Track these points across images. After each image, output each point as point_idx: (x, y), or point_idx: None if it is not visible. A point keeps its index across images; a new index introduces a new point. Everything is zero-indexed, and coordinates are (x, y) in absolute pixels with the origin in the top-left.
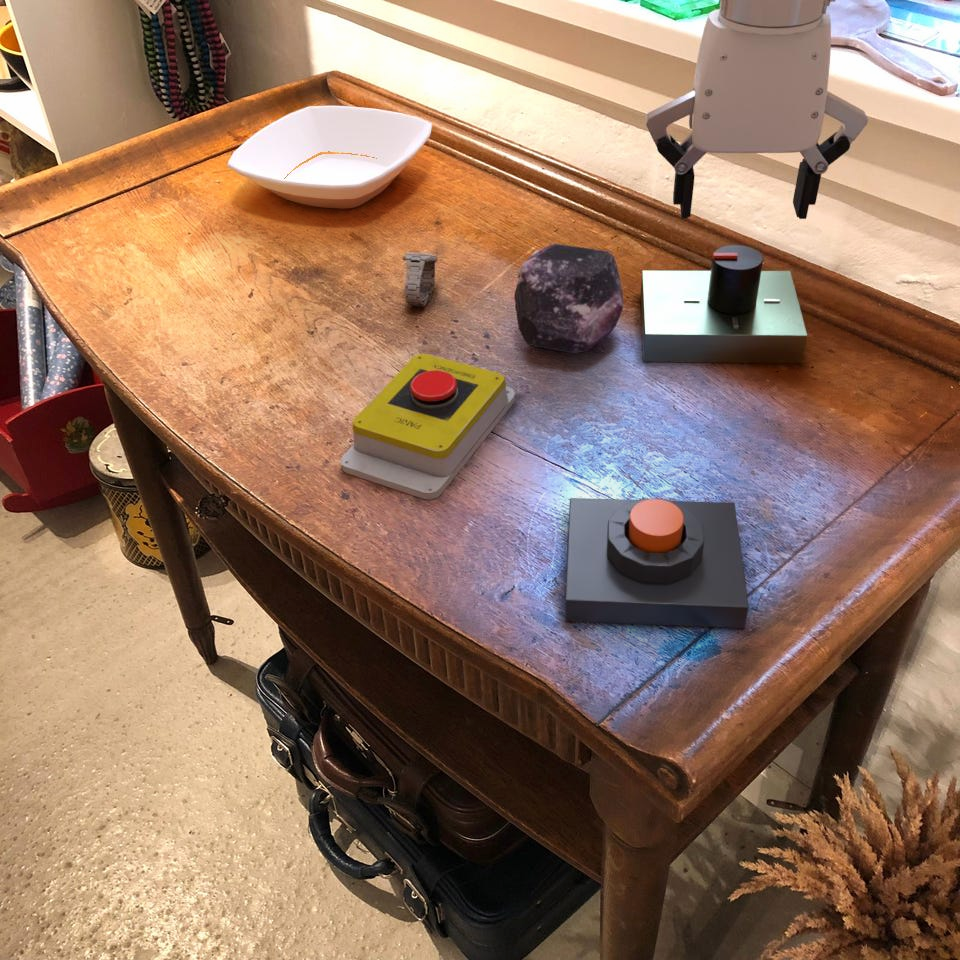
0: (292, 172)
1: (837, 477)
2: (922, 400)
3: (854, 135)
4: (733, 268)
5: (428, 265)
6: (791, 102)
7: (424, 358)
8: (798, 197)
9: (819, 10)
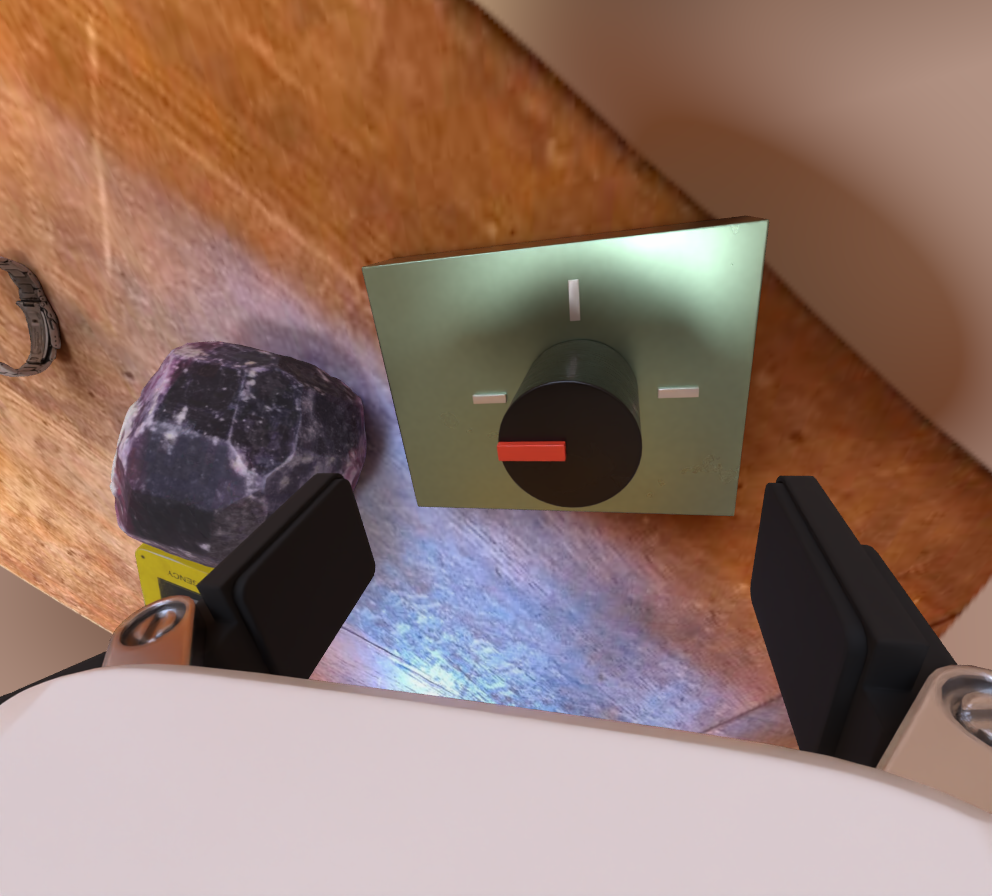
0: None
1: (709, 693)
2: (929, 574)
3: None
4: (553, 503)
5: None
6: None
7: (148, 558)
8: (773, 607)
9: None
